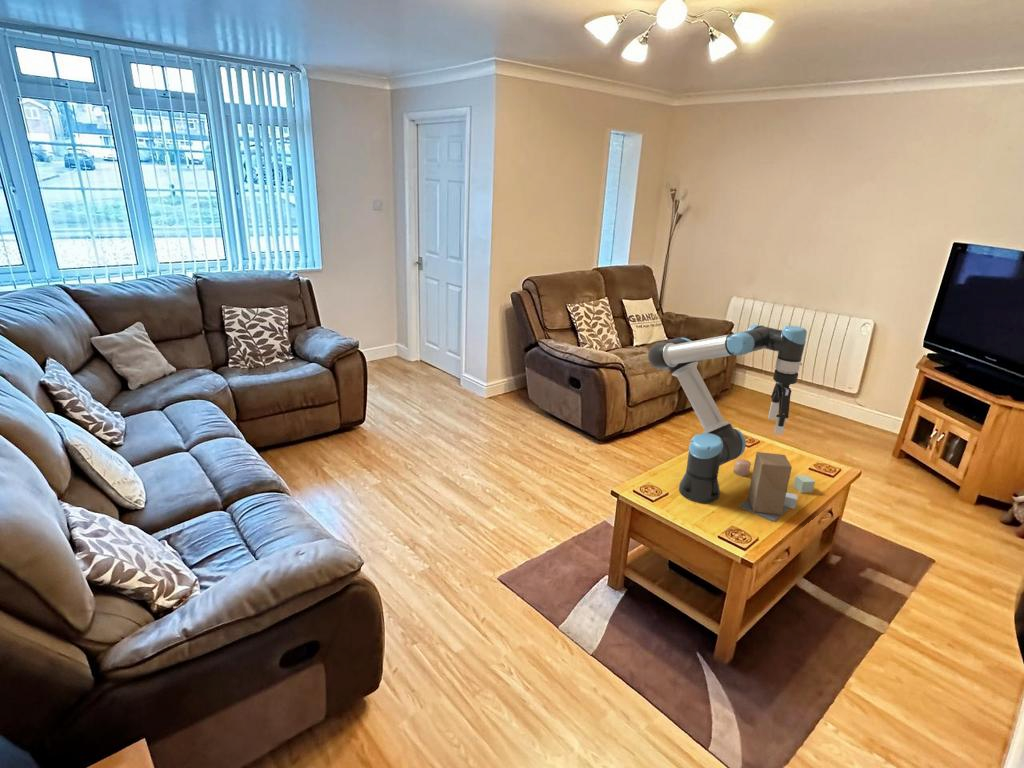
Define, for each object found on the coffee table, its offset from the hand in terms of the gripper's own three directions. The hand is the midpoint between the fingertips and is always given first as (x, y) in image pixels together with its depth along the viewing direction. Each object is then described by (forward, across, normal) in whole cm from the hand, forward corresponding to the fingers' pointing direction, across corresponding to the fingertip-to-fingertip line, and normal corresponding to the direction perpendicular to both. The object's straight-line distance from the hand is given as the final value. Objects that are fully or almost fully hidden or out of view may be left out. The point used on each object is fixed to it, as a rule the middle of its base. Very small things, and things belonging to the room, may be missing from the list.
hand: (775, 426), depth 196 cm
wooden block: (+31, -4, -1) cm, 32 cm away
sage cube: (+32, +16, -18) cm, 40 cm away
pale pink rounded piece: (+32, +23, +4) cm, 40 cm away
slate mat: (+32, -4, -1) cm, 32 cm away
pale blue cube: (+32, +2, -11) cm, 34 cm away
